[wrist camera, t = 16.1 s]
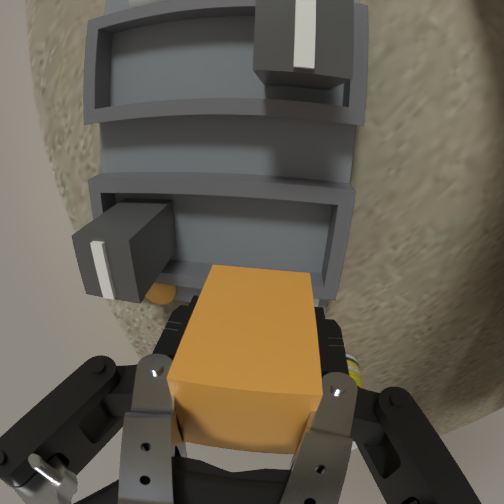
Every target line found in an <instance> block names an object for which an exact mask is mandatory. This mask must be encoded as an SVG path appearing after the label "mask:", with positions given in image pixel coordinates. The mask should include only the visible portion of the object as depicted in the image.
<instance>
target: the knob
mask: <svg viewBox="0 0 504 504" xmlns="http://www.w3.org/2000/svg"><path fill="white" fill-rule="evenodd" d="M353 55H354V0H256V7H255V28H254V50H253V71H254V72H255V74H256V75H257V76H258V78H259V79H260V81H261V82H262V83H263V85H275V86H290V87H301V88H311V89H320V90H330V89H332V88H335V87H337V86H339V85H341V84H343V83H346V82H348V81H350V80H352V79H353Z"/></svg>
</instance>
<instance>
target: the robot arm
mask: <svg viewBox="0 0 504 504" xmlns="http://www.w3.org/2000/svg"><path fill="white" fill-rule="evenodd" d="M198 298H199V296H197V295H194V296H193V297H192V299H191V302H190V304H189V306H182V305H180V306H179V307H178V308H177V309H176V310H174V311H173V312H172V314H171V316H170V318H169V320H168V322H167V324H166V326H165V329H164V330H163V332H162V334H161V337H160V339H159V341H158V343H157V345H156V347H155V349H154V351H153V353H152V354H150V355H147V356H145V357H143V358H142V359H141V360H140V361H139V362H138V364H137V365H128V366H116V364H115V362H114V361H113V360H112V359H111V358H109V357H107V356H95V357H92V358H90V359H89V360H87V361H86V362H85V363H84V364H83V365H81V366H80V367H79V368H78V369H77V370H76V371H74V372H73V373H72V374H71V375H70V376H69V377H67V378H66V379H65V380H64V381H63V382H62V383H61V384H59V385H58V386H57V387H56V388H55V389H54V390H53V391H51V393H49V394H48V395H47V396H46V397H45V398H44V399H42V400H41V401H40V402H39V403H38V404H37V405H36V406H34V407H33V408H32V409H31V410H30V411H29V412H28V413H27V414H26V415H24V416H23V417H22V418H21V419H20V420H19V421H18V422H17V423H16V424H14V425H13V426H12V427H11V428H10V429H9V430H8V431H7V432H6V433H5V434H4V435H2V436H1V437H0V479H1V480H3V481H4V482H5V483H6V484H7V485H9V486H10V487H12V488H13V489H15V491H16V492H17V493H18V494H19V496H20V497H21V498H22V500H23V501H24V502H25V503H26V504H71V499H72V496H73V494H75V493H76V492H77V483H78V482H77V478H76V475H77V474H78V473H79V472H80V471H81V470H82V469H83V468H84V467H85V466H86V465H87V464H88V463H89V462H90V461H91V460H92V459H93V458H94V456H95V455H96V454H97V453H98V452H99V451H100V450H101V449H102V448H103V447H104V446H105V445H106V443H108V442H109V441H110V439H111V438H112V437H113V436H114V435H115V434H116V433H117V432H118V431H119V430H120V429H121V428H122V427H123V433H122V445H121V456H120V470H119V480H117V481H115V482H113V483H112V484H110V485H108V486H106V487H104V488H102V489H101V490H99V491H97V492H95V493H93V494H91V495H90V496H88V497H86V498H84V499H82V500H80V501H78V502H76V503H74V504H338V502H339V498H340V495H341V491H342V487H343V483H344V480H345V475H346V471H347V467H348V462H349V458H350V453H351V449H352V443H353V441H354V442H355V443H356V445H357V447H358V449H359V451H360V453H361V454H362V456H363V458H364V460H365V462H366V464H367V466H368V468H369V470H370V472H371V474H372V476H373V478H374V480H375V482H376V484H377V486H378V487H379V489H380V491H381V493H382V495H383V497H384V499H385V501H386V503H387V504H481V502H480V501H479V499H478V497H477V496H476V494H475V492H474V490H473V489H472V487H471V486H470V484H469V482H468V481H467V479H466V477H465V476H464V474H463V473H462V471H461V469H460V468H459V466H458V465H457V463H456V462H455V460H454V458H453V457H452V455H451V454H450V452H449V451H448V449H447V448H446V446H445V445H444V443H443V442H442V440H441V439H440V437H439V435H438V434H437V432H436V431H435V429H434V428H433V426H432V425H431V424H430V422H429V421H428V419H427V418H426V416H425V415H424V413H423V412H422V410H421V409H420V407H419V406H418V405H417V403H416V402H415V400H414V399H413V397H412V396H411V395H410V393H409V392H407V391H406V390H405V389H402V388H400V387H388V388H386V389H384V390H383V391H382V392H381V393H376V392H372V391H368V390H365V389H363V388H360V387H359V386H357V384H356V382H355V380H354V379H353V378H352V377H350V375H349V370H348V364H347V359H346V353H345V348H344V343H343V339H342V333H341V328H340V327H339V325H338V324H337V323H336V321H335V320H330V319H325V314H324V309H323V307H314V309H315V317H316V326H317V335H318V345H319V355H320V366H321V377H322V389H323V396H322V399H321V401H320V404H319V406H318V408H317V411H311V413H310V415H309V418H308V421H307V424H306V427H305V430H304V433H303V436H302V439H301V440H299V442H298V445H297V447H296V450H295V453H294V456H293V458H292V461H291V464H290V466H289V469H288V470H279V469H260V470H252V471H244V472H228V471H226V470H223V469H220V468H218V467H215V466H213V465H210V464H208V463H205V462H203V461H200V460H195V459H190V458H187V453H186V446H185V432H184V428H183V427H181V426H180V423H179V420H178V417H177V414H176V401H175V398H174V396H173V395H171V393H170V389H169V386H168V382H167V375H168V372H169V370H170V367H171V365H172V362H173V360H174V357H175V355H176V352H177V350H178V347H179V345H180V342H181V340H182V337H183V335H184V332H185V330H186V327H187V325H188V323H189V320H190V318H191V315H192V313H193V310H194V308H195V306H196V303H197V301H198Z"/></svg>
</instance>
